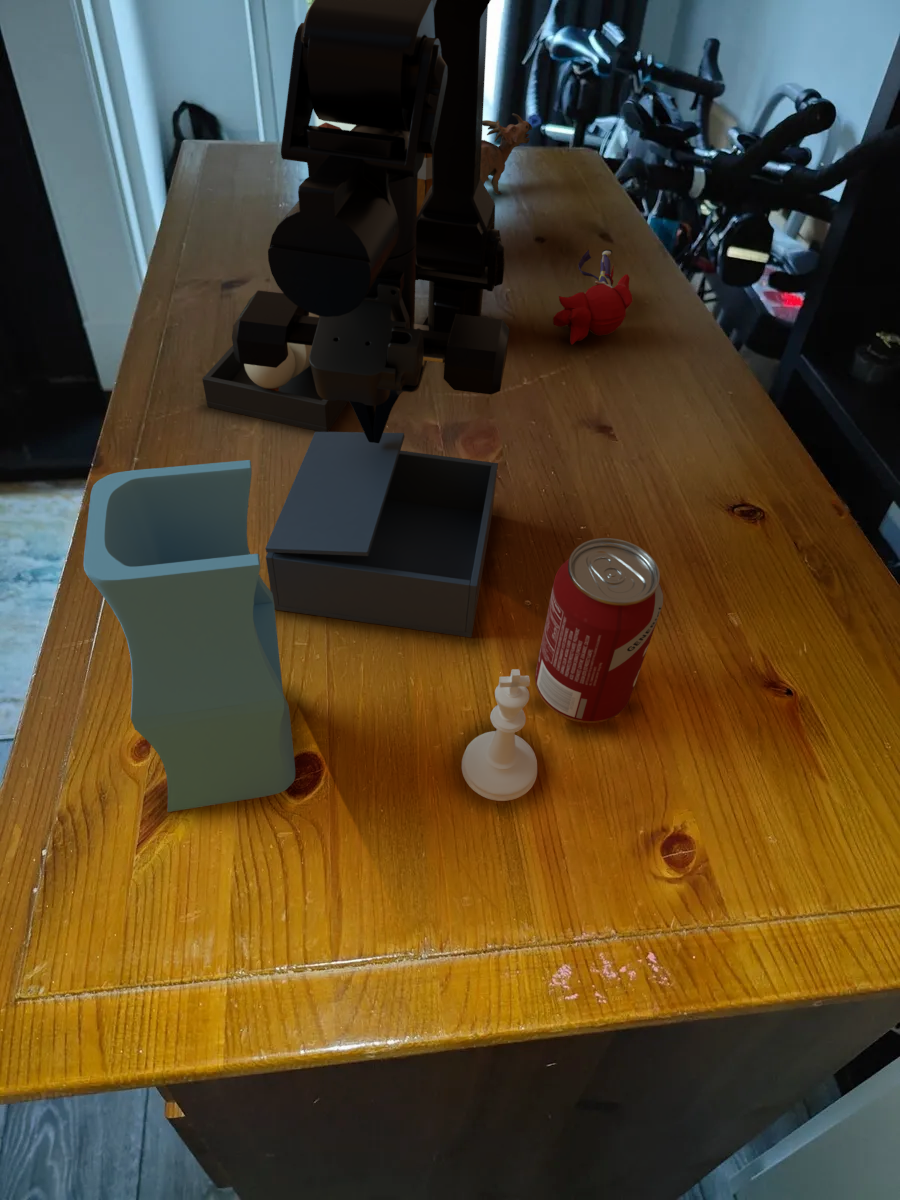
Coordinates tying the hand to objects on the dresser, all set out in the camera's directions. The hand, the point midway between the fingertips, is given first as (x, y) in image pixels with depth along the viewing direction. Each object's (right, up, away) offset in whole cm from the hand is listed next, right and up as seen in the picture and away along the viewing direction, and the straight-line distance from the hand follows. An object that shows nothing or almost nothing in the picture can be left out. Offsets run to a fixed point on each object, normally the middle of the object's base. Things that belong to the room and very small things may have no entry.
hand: (375, 439), depth 65 cm
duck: (-8, +15, +20) cm, 26 cm away
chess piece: (+9, -23, -10) cm, 27 cm away
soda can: (+15, -19, -6) cm, 25 cm away
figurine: (+22, +19, +30) cm, 42 cm away
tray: (-9, +10, +19) cm, 24 cm away
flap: (-2, -4, -2) cm, 5 cm away
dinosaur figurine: (+10, +45, +53) cm, 70 cm away
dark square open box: (+1, -9, +2) cm, 9 cm away
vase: (-8, -22, -10) cm, 26 cm away
